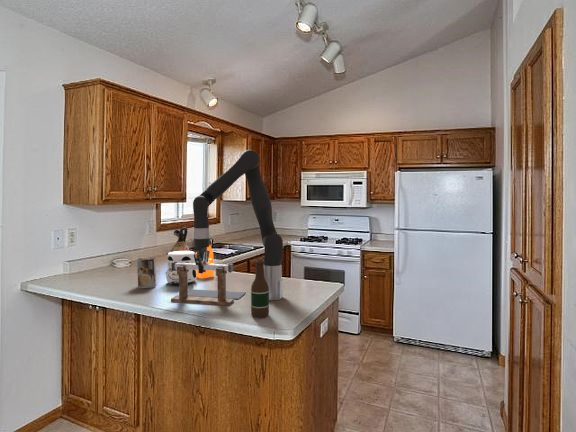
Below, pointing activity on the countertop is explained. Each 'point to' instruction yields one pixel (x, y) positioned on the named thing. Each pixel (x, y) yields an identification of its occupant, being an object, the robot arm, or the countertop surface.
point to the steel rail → (205, 266)
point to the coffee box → (146, 272)
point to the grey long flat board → (214, 294)
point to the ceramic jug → (180, 240)
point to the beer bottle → (259, 293)
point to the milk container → (180, 258)
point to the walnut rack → (202, 300)
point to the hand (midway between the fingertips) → (202, 272)
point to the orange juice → (210, 261)
